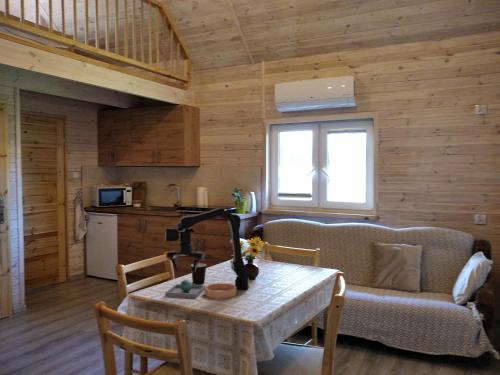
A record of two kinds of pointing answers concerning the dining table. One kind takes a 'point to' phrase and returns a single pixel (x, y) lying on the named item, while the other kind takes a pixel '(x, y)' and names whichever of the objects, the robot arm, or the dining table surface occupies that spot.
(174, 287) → the tray
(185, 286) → the ball
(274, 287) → the dining table surface
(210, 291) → the bowl
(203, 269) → the coffee mug
